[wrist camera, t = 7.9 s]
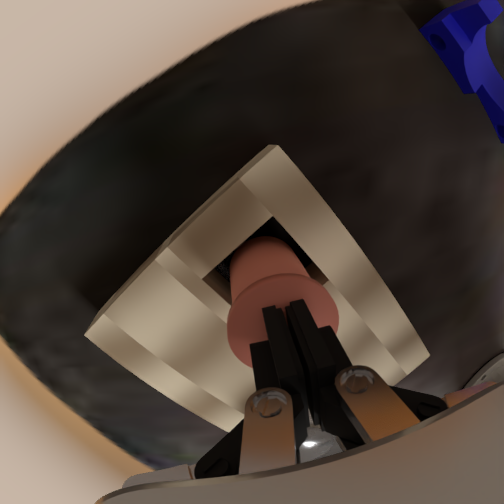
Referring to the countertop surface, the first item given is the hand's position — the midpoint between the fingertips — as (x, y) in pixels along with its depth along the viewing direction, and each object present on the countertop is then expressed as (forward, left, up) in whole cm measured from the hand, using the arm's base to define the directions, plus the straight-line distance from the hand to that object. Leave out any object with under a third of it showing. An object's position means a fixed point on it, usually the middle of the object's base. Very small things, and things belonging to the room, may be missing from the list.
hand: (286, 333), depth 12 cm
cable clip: (-1, -22, -8) cm, 24 cm away
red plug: (0, 0, -6) cm, 6 cm away
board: (-5, +3, -8) cm, 10 cm away
